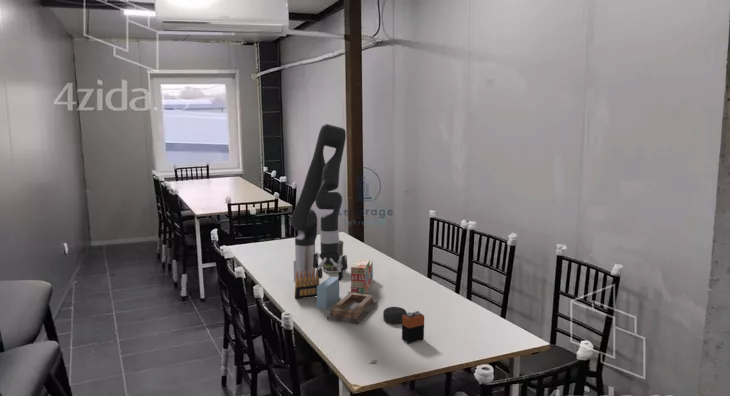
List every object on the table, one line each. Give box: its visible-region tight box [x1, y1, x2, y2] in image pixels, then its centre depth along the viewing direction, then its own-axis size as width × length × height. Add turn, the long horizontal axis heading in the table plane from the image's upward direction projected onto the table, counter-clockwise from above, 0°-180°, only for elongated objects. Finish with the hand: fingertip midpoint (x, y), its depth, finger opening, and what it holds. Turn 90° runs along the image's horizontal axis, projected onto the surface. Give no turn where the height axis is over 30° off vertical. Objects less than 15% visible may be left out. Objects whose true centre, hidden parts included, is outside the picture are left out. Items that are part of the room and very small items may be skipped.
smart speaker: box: [382, 306, 408, 325], centre depth 210 cm, size 9×9×4 cm
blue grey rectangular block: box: [316, 276, 340, 310], centre depth 227 cm, size 4×14×9 cm, turn 160°
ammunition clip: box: [294, 269, 320, 300], centre depth 233 cm, size 11×2×12 cm, turn 112°
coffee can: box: [322, 239, 344, 273], centre depth 272 cm, size 10×10×14 cm
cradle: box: [326, 291, 378, 325], centre depth 217 cm, size 13×22×4 cm, turn 160°
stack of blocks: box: [350, 258, 374, 294], centre depth 247 cm, size 21×6×12 cm, turn 170°
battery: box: [401, 310, 425, 344], centre depth 192 cm, size 4×7×10 cm, turn 121°
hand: (330, 279), depth 226 cm, fingers open, 8 cm apart
